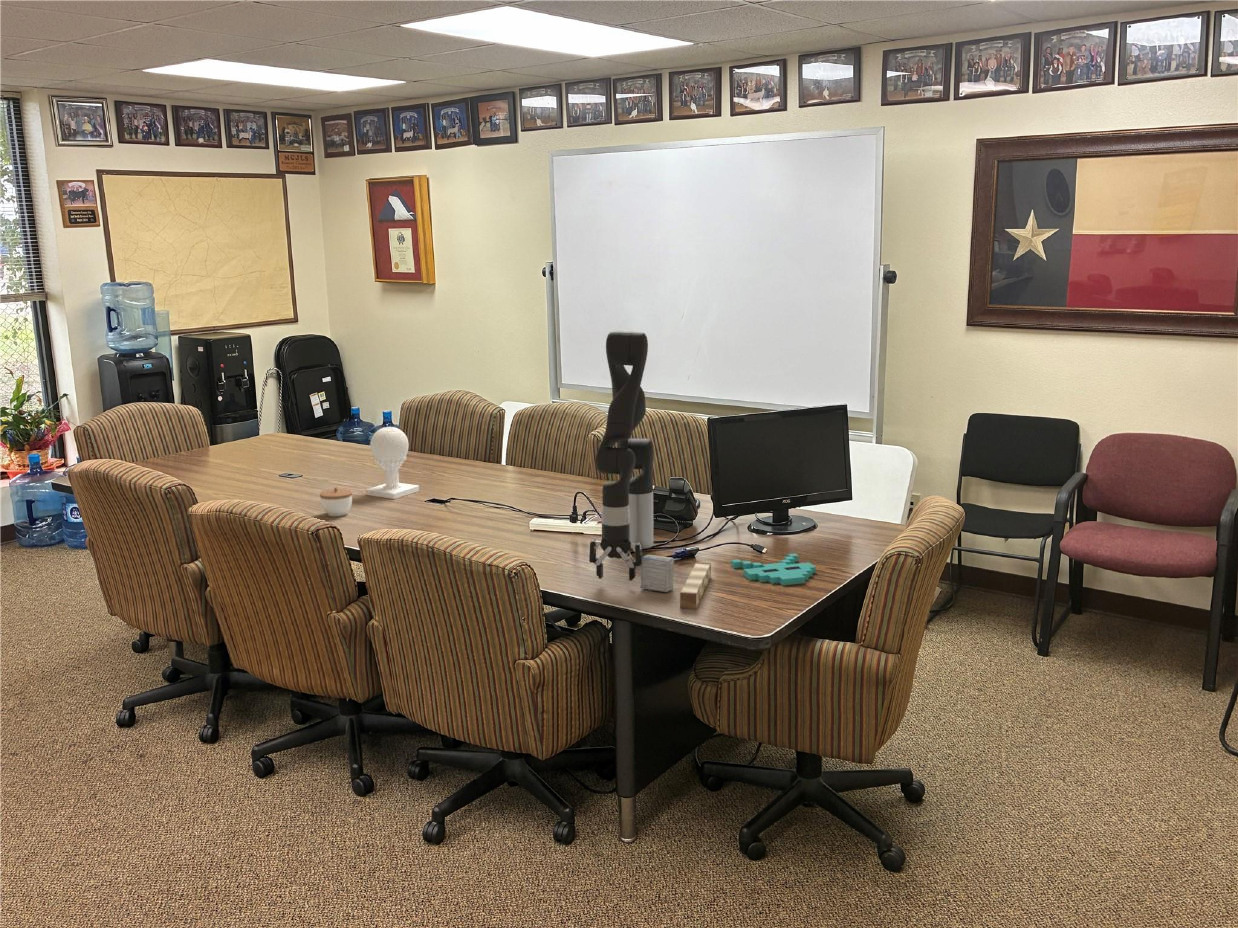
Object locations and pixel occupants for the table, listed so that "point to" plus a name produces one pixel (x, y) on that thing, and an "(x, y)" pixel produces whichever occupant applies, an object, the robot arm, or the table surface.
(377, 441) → the trophy
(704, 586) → the maple rail
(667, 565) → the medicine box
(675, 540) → the table surface
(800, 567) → the alien figure
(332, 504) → the lidded jar
